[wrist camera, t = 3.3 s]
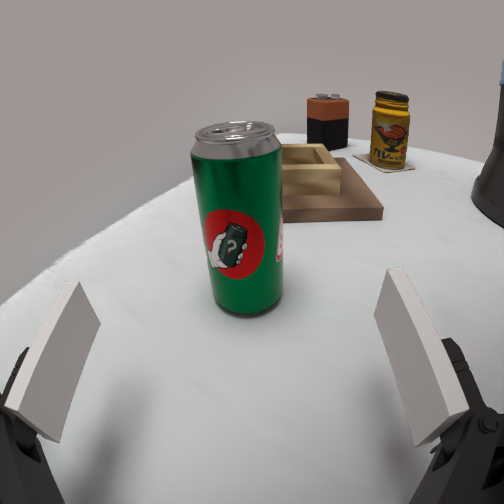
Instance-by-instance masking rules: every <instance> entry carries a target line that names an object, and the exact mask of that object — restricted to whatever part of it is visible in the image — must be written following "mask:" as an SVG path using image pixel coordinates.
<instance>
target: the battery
mask: <svg viewBox="0 0 504 504" xmlns="http://www.w3.org/2000/svg"><path fill="white" fill-rule="evenodd" d="M316 96H318V98H309V99H307V144H323V145H324V146H325V148H326V149H327V150H333V149H338V148H343V147H346V146H347V143H348V121H349V101H348V100H346V99H341V98H340V95H338V94H331V97H327V96H328V94H316Z"/></svg>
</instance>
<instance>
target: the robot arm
mask: <svg viewBox="0 0 504 504" xmlns="http://www.w3.org/2000/svg"><path fill="white" fill-rule="evenodd" d="M499 85H500V86H501V92H500V102H499V111H498V120H497V126H496V132H495V139H494V144H493V149H492V152H491V154H490V155H489V157H488V159H487V161H486V163H485V165H484V167H483V169H482V171H481V174H480V175H479V176H478V177H477V178H476V180H475V182H474V186H473V190H472V195H471V196H472V199H473V201H474V203H475V204H476V205H477V207H478V208H479V209H480V210H481V211H482V212H483V213H485V214H486V215H487V216H488V217H490V218H491V219H492V220H494V221H495V222H497V223H498V224H500V225H501V226H503V227H504V60H503V63H502V74H501V81H500V82H499ZM374 317H375V320H376V323H377V326H378V328H379V331H380V334H381V337H382V340H383V343H384V345H385V348H386V351H387V354H388V357H389V360H390V363H391V366H392V370H393V373H394V376H395V379H396V382H397V385H398V389H399V392H400V395H401V399H402V402H403V406H404V409H405V413H406V416H407V420H408V424H409V428H410V431H411V435H412V439H413V443H414V447H418V446H421V445H424V444H427V443H431V442H433V441H434V440H435V439H436V438H438V437H439V436H440V439H441V442H440V443H439V444H438V445H436V446H435V447H434V448H433V449H432V450H431V452H430V453H431V454H432V453H434V452H435V451H436V453H435V455H434V457H433V459H432V461H431V463H430V465H429V468H428V470H427V472H426V474H425V476H424V478H423V479H422V481H421V483H420V485H419V487H418V489H417V491H416V493H415V494H414V496H413V498H412V500H411V501H410V503H409V504H504V414H498V413H497V412H496V411H495V410H493V409H492V408H489V407H487V406H486V405H485V403H484V401H483V399H482V397H481V394H480V392H479V389H478V387H477V384H476V382H475V380H474V377H473V375H472V373H471V370H469V366H468V364H467V362H466V361H465V357H464V355H463V353H462V351H461V349H460V347H459V346H458V345H457V344H456V343H455V342H454V341H453V340H452V339H451V338H446V339H442V340H441V339H440V337H439V335H438V333H437V331H436V329H435V327H434V325H433V323H432V321H431V319H430V317H429V315H428V313H427V311H426V309H425V307H424V305H423V303H422V301H421V299H420V297H419V295H418V294H417V292H416V290H415V288H414V286H413V284H412V282H411V281H410V279H409V277H408V275H407V274H406V272H405V270H404V268H390V269H387V271H386V275H385V278H384V282H383V285H382V289H381V292H380V296H379V299H378V303H377V306H376V309H375V312H374ZM100 324H101V323H100V321H99V319H98V318H97V316H96V314H95V312H94V310H93V308H92V306H91V304H90V302H89V300H88V298H87V296H86V294H85V292H84V290H83V288H82V286H81V284H80V282H79V281H66V283H65V285H64V286H63V288H62V290H61V291H60V293H59V295H58V296H57V298H56V300H55V301H54V303H53V305H52V307H51V308H50V310H49V312H48V314H47V316H46V317H45V319H44V321H43V323H42V325H41V327H40V329H39V331H38V332H37V334H36V336H35V338H34V340H33V342H32V344H31V346H30V347H27V348H26V349H25V350H24V351H23V352H22V353H21V355H20V356H19V358H18V360H17V362H16V364H15V368H14V369H13V371H12V373H11V374H12V375H10V377H9V380H8V382H7V384H6V387H5V389H4V391H3V394H2V396H1V399H0V504H65V502H64V500H63V498H62V496H61V494H60V492H59V489H58V487H57V485H56V483H55V480H54V478H53V475H52V473H51V471H50V468H49V466H48V463H47V460H46V458H45V455H44V452H43V450H42V447H41V444H40V441H39V440H38V438H37V437H36V436H37V433H38V434H40V435H41V436H42V437H44V438H45V439H48V440H51V441H54V442H57V443H59V442H60V438H61V435H62V431H63V428H64V424H65V421H66V418H67V414H68V411H69V408H70V405H71V402H72V399H73V396H74V393H75V390H76V387H77V384H78V381H79V378H80V375H81V373H82V370H83V367H84V364H85V362H86V359H87V356H88V354H89V351H90V349H91V346H92V343H93V341H94V338H95V336H96V334H97V331H98V329H99V326H100Z"/></svg>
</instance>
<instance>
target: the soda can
mask: <svg viewBox="0 0 504 504" xmlns="http://www.w3.org/2000/svg"><path fill="white" fill-rule="evenodd" d="M274 131H275V129H274V126H272V125H270V124H267V123H263V122H254V121H239V122H238V121H237V122H227V123H220V124H215V125H211V126H208V127H205V128H202V129H200V130H198V131H197V132H196V133H195V138H196V139H197V140H196V142H195V145H194V146H193V149H192V151H191V161H192V169H193V176H194V183H195V189H196V196H197V202H198V209H199V215H200V221H201V227H202V234H203V239H204V245H205V251H206V257H207V263H208V268H209V274H210V279H211V285H212V290H213V295H214V298H215V299H216V301H217V302H218V303H219V304H220V305H221V306H222V307H224V308H225V309H227V310H229V311H232V312H235V313H239V314H253V313H258V312H261V311H263V310H265V309H267V308H269V307H270V306H272V305H273V304H274V303H275V302H276V301H277V300H278V299H279V297H280V296H281V293H282V288H283V174H282V145H281V143H280V142H279V140H278V139H277V138H276V136H275V135H274Z"/></svg>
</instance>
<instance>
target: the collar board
mask: <svg viewBox="0 0 504 504" xmlns="http://www.w3.org/2000/svg"><path fill="white" fill-rule="evenodd" d="M281 145H282V174H283V223H291V222H319V221H355V220H382V215H383V209H384V207H383V206H382V204H381V203H380V202H379V200H378V199H377V198H376V197H375V195H374V194H373V193H372V191H371V190H370V189H369V187H368V186H367V185H366V184H365V182H364V181H363V180H362V179H361V177H360V176H359V175H358V174H357V173H356V171H355V170H354V169H353V168H352V166H351V165H350V164H349V163H348V162H347V160H346V159H345V158H333V157H332V156H331V154H330V153H329V152H328V150H327V149H326V148H325V146H324V145H323V144H281Z"/></svg>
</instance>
